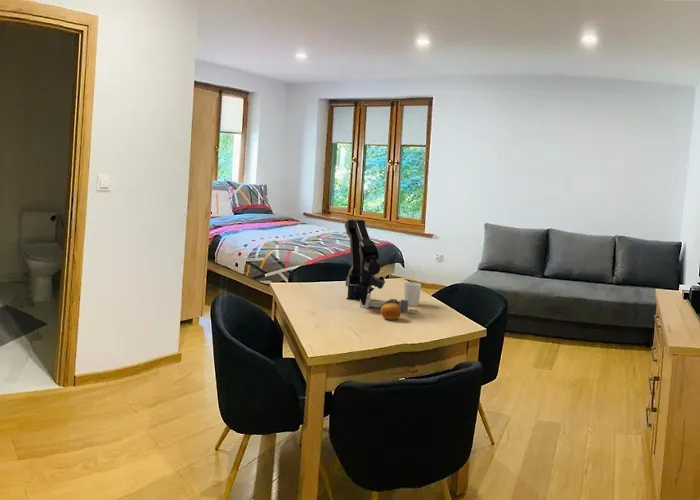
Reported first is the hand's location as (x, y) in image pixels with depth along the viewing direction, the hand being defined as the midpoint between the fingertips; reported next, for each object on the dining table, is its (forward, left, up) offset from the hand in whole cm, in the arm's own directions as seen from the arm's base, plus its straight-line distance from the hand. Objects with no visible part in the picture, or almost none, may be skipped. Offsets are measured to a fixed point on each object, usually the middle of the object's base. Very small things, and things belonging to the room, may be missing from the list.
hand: (365, 304), depth 287 cm
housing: (+17, 0, -1) cm, 17 cm away
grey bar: (+7, 0, -1) cm, 7 cm away
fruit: (+16, -17, -2) cm, 24 cm away
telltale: (+18, 0, -1) cm, 18 cm away
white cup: (+19, +16, -2) cm, 25 cm away
